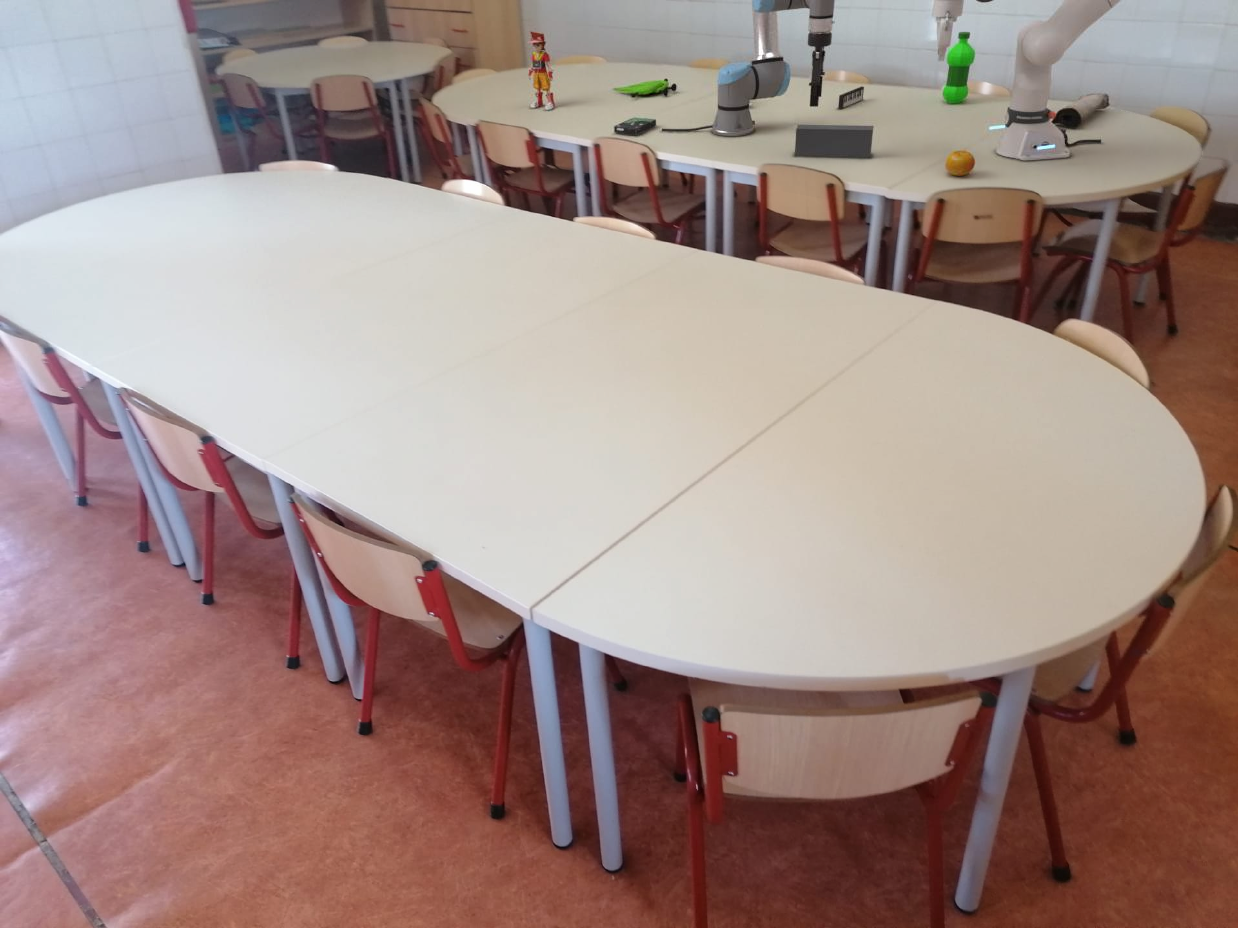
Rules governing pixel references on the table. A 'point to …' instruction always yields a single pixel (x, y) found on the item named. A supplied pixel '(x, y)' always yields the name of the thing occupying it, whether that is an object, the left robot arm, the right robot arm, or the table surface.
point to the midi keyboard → (850, 97)
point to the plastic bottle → (958, 69)
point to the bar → (833, 141)
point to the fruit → (960, 163)
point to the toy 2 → (648, 88)
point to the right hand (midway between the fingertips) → (940, 57)
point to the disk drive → (635, 126)
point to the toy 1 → (541, 71)
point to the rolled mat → (1081, 109)
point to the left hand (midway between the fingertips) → (815, 101)
